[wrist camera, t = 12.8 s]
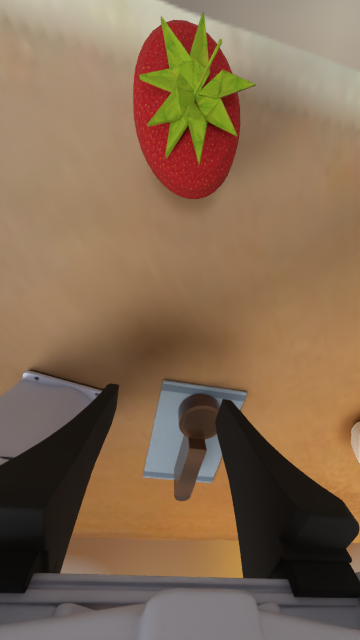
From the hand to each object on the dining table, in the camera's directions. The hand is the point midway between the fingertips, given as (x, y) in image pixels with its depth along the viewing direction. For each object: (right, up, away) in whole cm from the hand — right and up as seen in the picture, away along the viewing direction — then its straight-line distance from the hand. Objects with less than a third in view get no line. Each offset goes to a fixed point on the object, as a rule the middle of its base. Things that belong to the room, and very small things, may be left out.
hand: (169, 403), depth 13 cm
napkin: (+2, -11, +14) cm, 18 cm away
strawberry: (+1, +19, +4) cm, 19 cm away
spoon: (+2, -11, +14) cm, 18 cm away
